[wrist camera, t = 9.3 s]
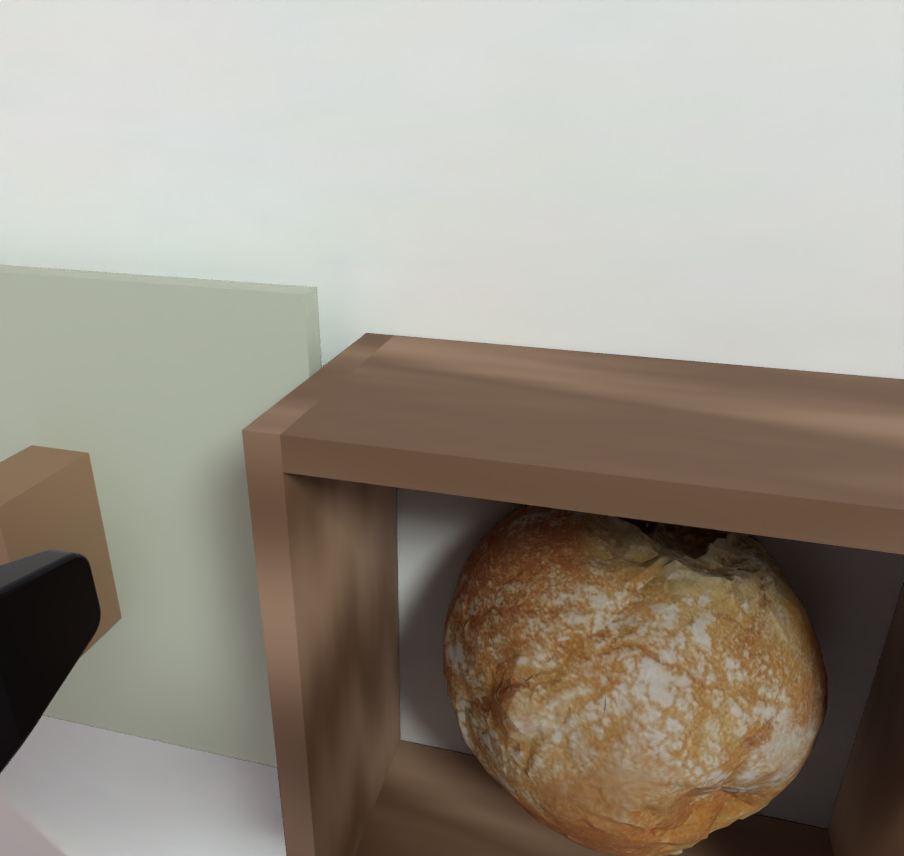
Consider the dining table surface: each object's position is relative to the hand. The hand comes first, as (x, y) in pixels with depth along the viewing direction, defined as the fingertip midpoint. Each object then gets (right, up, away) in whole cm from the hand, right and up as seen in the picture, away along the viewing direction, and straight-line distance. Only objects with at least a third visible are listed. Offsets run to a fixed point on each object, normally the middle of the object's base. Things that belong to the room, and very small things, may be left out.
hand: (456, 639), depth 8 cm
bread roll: (+5, -4, +15) cm, 16 cm away
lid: (-11, 0, +17) cm, 21 cm away
